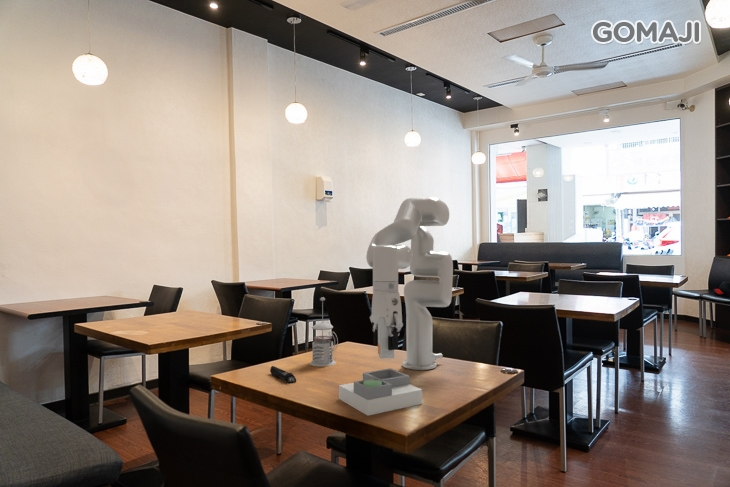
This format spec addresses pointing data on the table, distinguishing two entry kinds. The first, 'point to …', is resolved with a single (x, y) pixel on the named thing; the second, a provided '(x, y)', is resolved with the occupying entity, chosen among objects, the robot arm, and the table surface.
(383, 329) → the skincare box
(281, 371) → the electric trimmer
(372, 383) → the on button
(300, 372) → the table surface
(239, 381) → the table surface
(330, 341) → the french press
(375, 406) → the white socket tray
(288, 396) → the table surface
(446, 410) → the table surface
